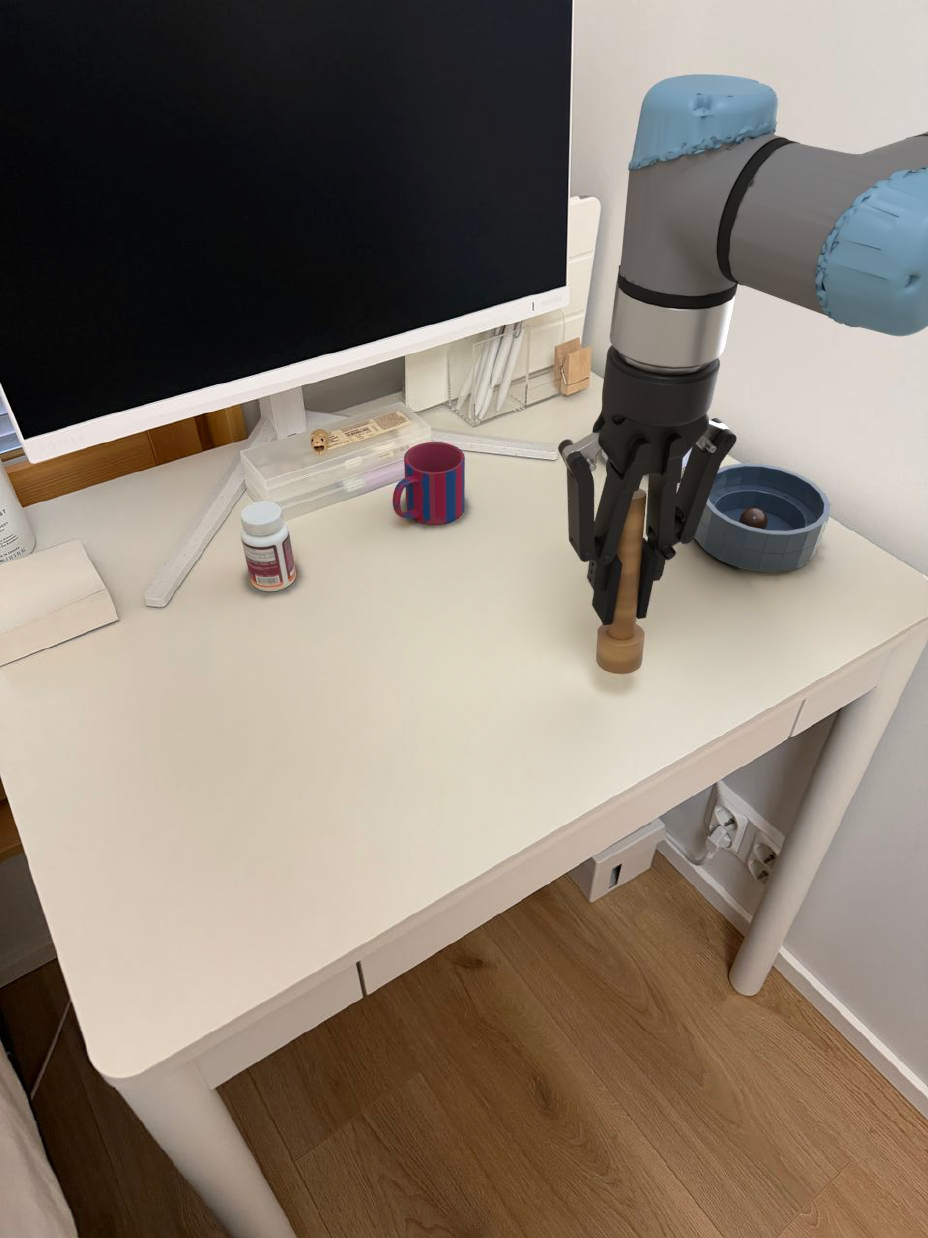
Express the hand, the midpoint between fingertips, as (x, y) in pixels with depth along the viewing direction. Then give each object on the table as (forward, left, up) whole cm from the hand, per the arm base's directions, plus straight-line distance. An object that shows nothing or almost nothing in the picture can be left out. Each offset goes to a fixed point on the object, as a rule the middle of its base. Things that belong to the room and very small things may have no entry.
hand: (618, 610), depth 73 cm
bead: (+16, -24, -6) cm, 30 cm away
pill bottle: (+23, +28, -9) cm, 37 cm away
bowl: (+16, -24, -9) cm, 30 cm away
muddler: (-2, 0, -5) cm, 5 cm away
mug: (+30, +10, -9) cm, 33 cm away
